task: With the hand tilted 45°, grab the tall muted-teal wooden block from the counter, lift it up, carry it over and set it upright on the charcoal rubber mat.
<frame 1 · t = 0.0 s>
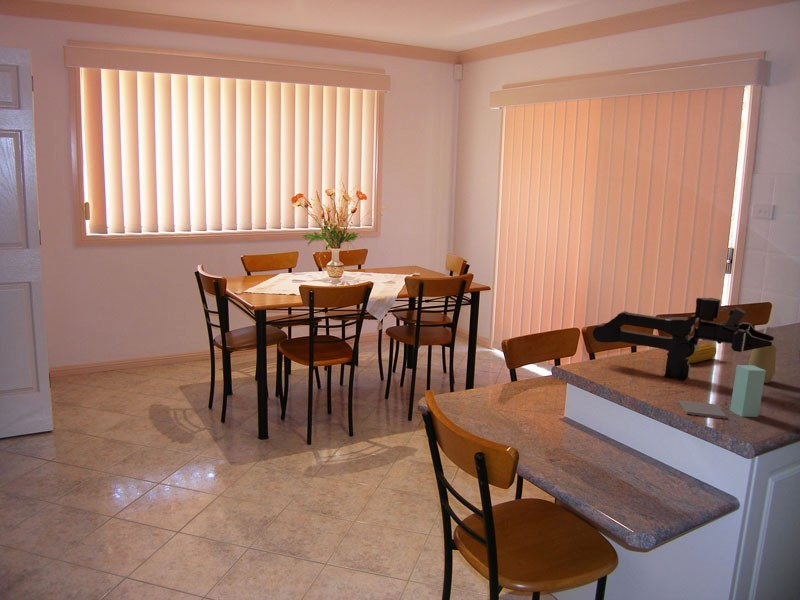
hand: (772, 341, 200), 17 cm above the worktop, tool horizontal, fingers open, 9 cm apart
rubber mat: (701, 410, 184), on the worktop
teal block: (743, 413, 184), on the worktop
food: (695, 362, 238), on the worktop
squeeze bottle: (759, 381, 218), on the worktop
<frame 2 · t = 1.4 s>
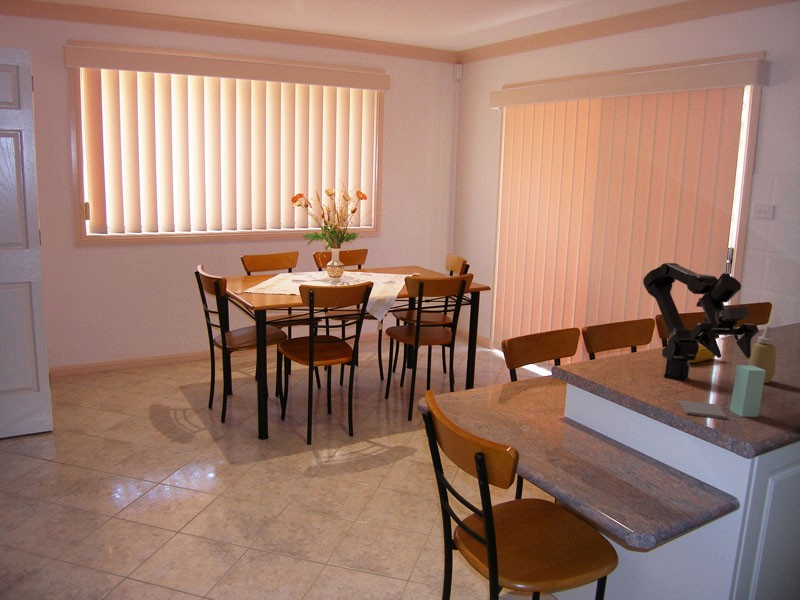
hand: (734, 357, 188), 14 cm above the worktop, tool tilted 45°, fingers open, 9 cm apart
nothing on the worktop moved.
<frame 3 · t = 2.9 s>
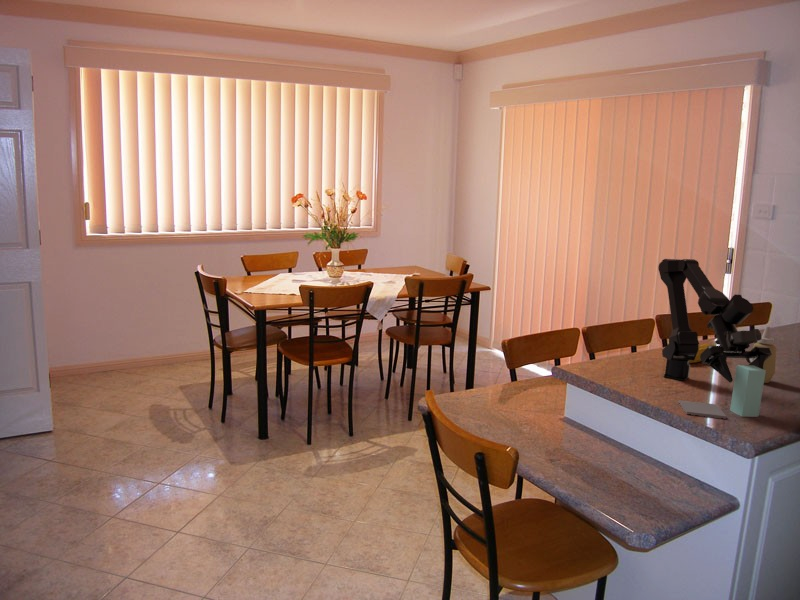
hand: (746, 381, 183), 9 cm above the worktop, tool tilted 45°, fingers open, 9 cm apart
nothing on the worktop moved.
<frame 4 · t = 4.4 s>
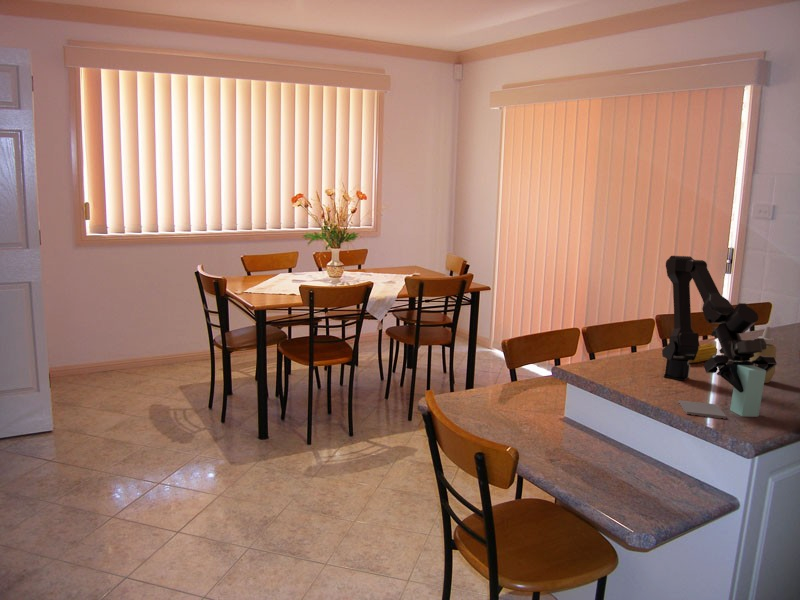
hand: (751, 391, 181), 7 cm above the worktop, tool tilted 45°, fingers closed on teal block, 5 cm apart
teal block: (743, 413, 184), on the worktop, touching gripper
everything else where it was.
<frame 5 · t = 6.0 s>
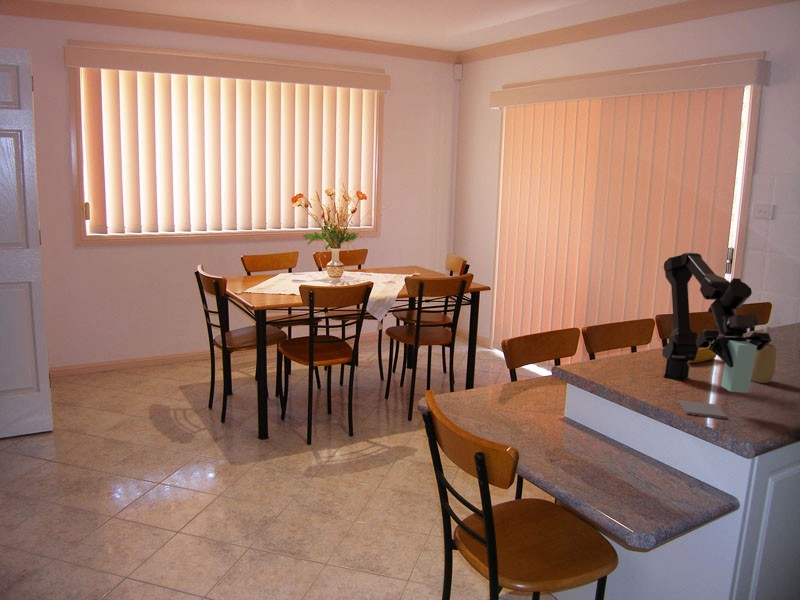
hand: (741, 367, 179), 13 cm above the worktop, tool tilted 45°, fingers closed on teal block, 5 cm apart
teal block: (734, 389, 182), point 7 cm above the worktop, touching gripper
everything else where it was.
when the fingers open (9 cm above the worktop, at t = 8.2 s): teal block drops 1 cm, resting on rubber mat.
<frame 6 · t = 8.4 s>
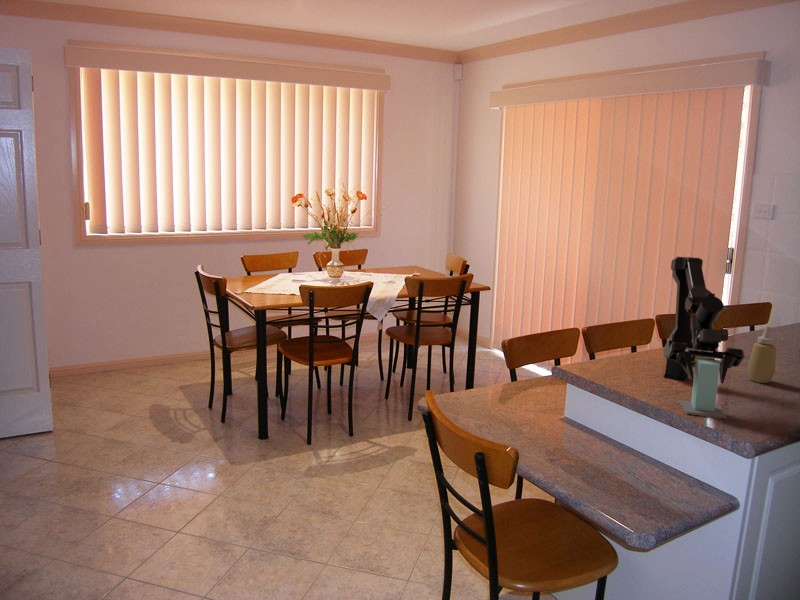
hand: (707, 381, 181), 9 cm above the worktop, tool tilted 45°, fingers open, 7 cm apart
teal block: (702, 407, 183), point 1 cm above the worktop, touching rubber mat
everything else where it was.
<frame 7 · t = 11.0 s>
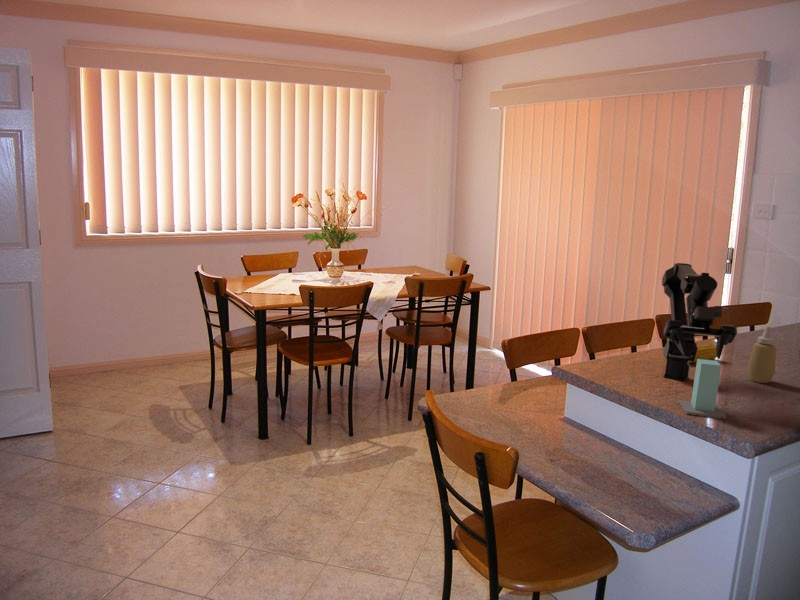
hand: (701, 356, 188), 13 cm above the worktop, tool tilted 45°, fingers open, 9 cm apart
nothing on the worktop moved.
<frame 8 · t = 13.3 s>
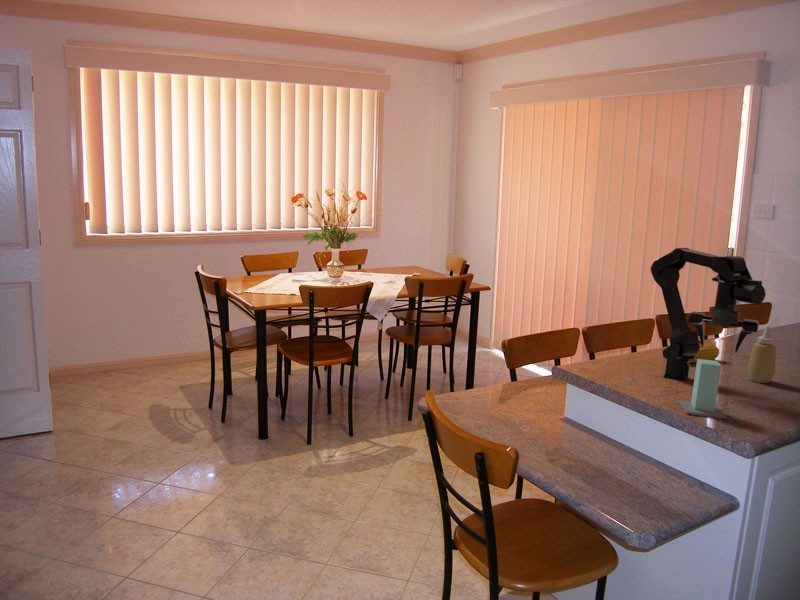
hand: (718, 349, 201), 13 cm above the worktop, tool pointing down, fingers open, 9 cm apart
nothing on the worktop moved.
at the end: teal block 0.1 cm off-centre on the rubber mat, point 0.8 cm above the rubber mat's base; teal block tilted 0°; the gripper is holding nothing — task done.
